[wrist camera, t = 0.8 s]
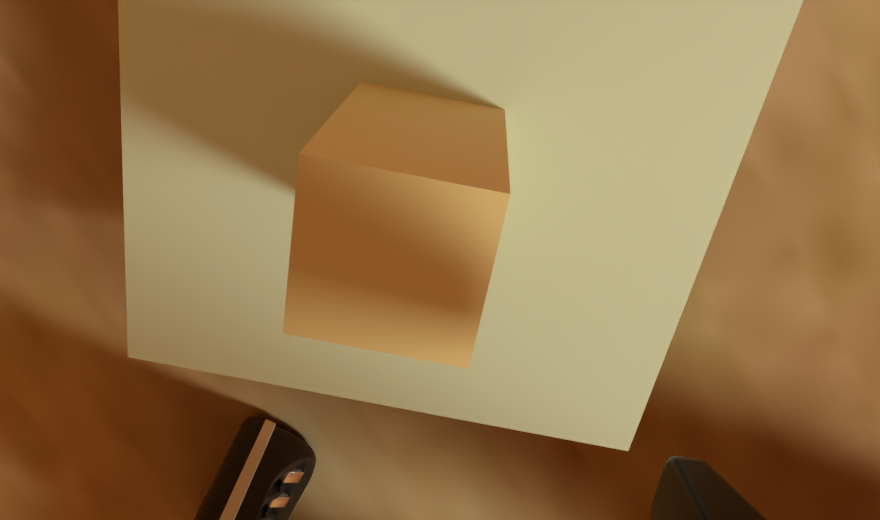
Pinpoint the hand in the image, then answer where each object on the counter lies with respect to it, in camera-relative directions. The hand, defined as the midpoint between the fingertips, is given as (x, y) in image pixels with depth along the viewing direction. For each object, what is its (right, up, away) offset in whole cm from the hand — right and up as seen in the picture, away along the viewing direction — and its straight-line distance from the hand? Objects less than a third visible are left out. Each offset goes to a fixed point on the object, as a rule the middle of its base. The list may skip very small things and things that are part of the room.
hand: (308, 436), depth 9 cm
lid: (+1, +5, +7) cm, 8 cm away
